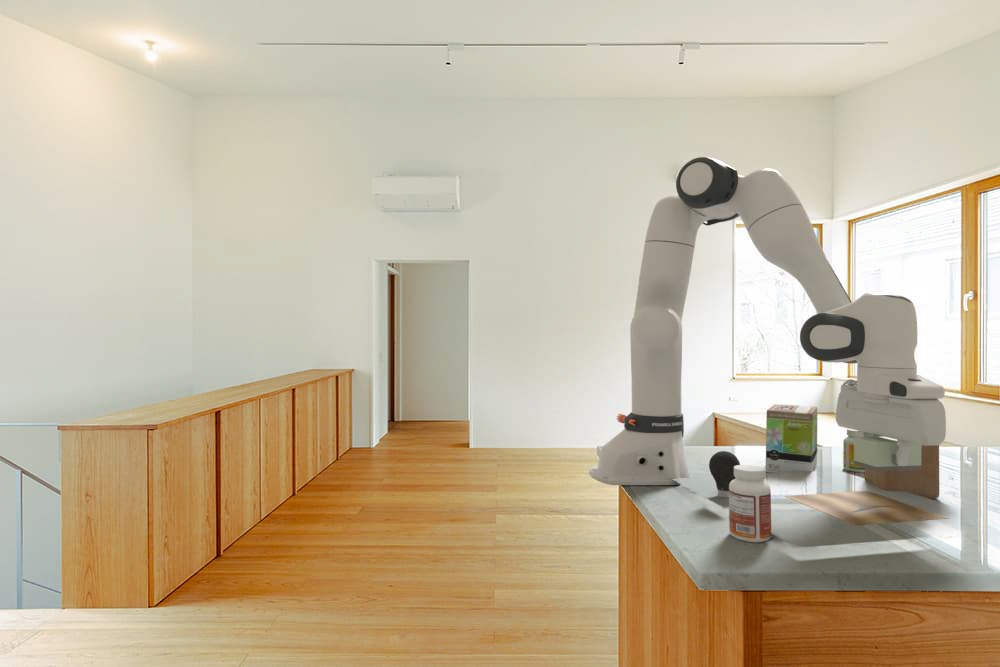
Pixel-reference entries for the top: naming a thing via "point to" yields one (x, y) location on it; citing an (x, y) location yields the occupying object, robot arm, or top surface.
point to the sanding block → (883, 454)
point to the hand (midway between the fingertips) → (884, 461)
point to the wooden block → (911, 475)
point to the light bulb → (723, 471)
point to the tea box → (791, 438)
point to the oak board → (865, 508)
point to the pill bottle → (750, 504)
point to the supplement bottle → (850, 452)
